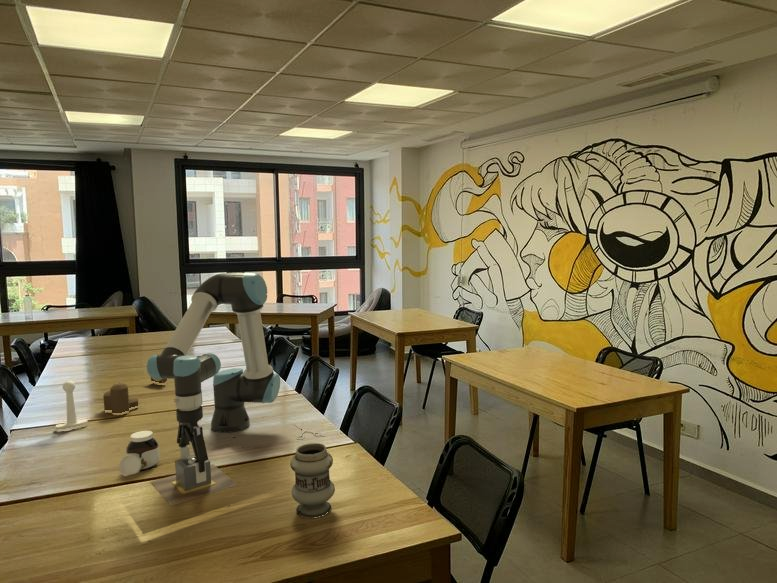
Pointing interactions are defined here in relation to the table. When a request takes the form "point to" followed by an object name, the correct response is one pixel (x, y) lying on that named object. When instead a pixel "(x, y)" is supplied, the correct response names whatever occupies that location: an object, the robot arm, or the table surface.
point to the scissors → (307, 431)
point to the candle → (118, 399)
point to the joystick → (70, 408)
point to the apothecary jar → (312, 480)
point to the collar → (190, 474)
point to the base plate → (178, 495)
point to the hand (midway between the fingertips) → (193, 474)
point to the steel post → (191, 461)
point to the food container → (158, 380)
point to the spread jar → (140, 454)
